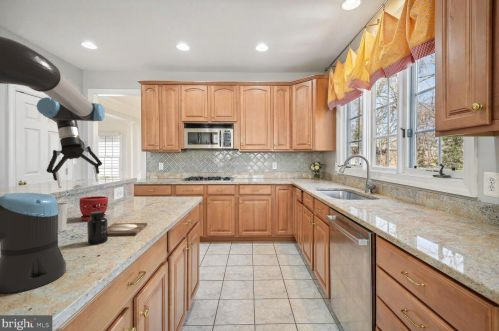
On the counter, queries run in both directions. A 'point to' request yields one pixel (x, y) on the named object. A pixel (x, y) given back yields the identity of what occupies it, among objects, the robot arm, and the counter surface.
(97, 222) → the supplement bottle
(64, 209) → the cup
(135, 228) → the walnut board
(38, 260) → the robot arm
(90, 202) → the plant pot
